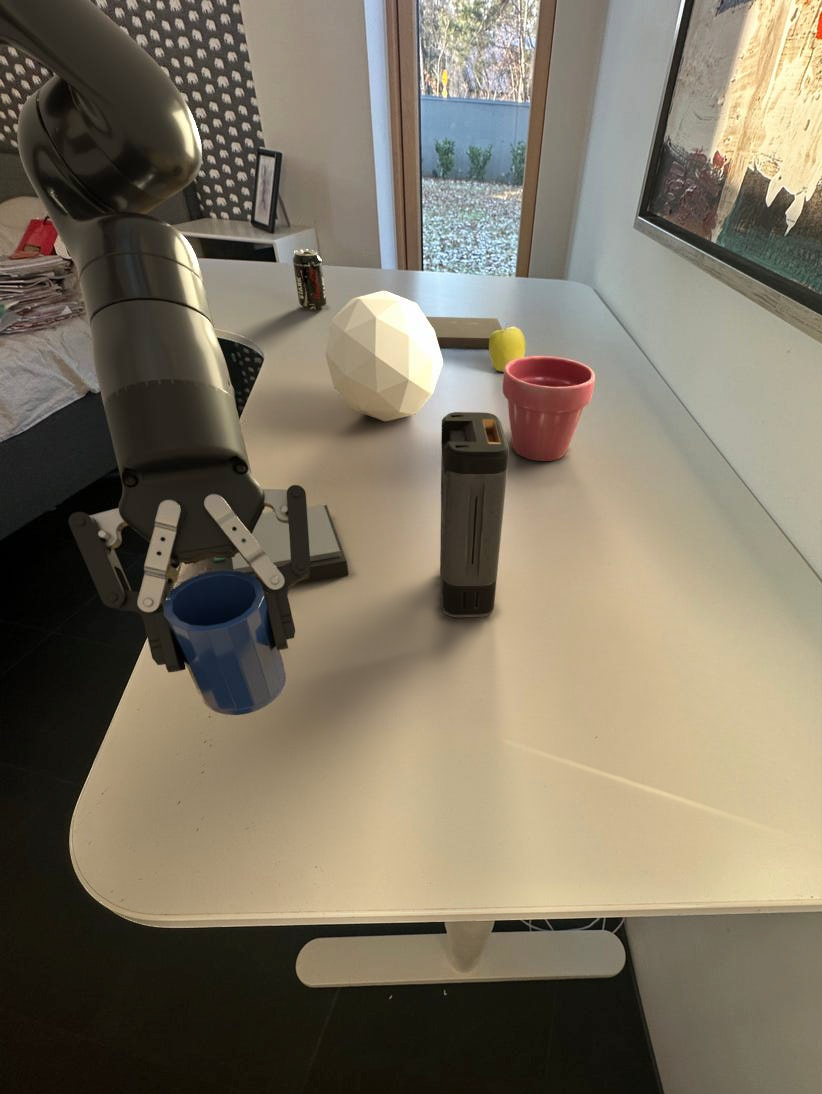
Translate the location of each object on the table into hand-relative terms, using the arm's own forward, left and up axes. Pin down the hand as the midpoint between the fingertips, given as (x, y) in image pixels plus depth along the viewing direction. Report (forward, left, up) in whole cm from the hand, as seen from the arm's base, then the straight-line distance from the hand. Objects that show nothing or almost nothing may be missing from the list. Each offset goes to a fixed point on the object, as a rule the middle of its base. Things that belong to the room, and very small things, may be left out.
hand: (231, 658), depth 37 cm
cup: (0, +2, -4) cm, 5 cm away
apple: (+58, +87, -16) cm, 106 cm away
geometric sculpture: (+28, +71, -16) cm, 78 cm away
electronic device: (+24, +19, -16) cm, 35 cm away
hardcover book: (+54, +109, -16) cm, 123 cm away
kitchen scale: (+4, +33, -16) cm, 37 cm away
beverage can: (+26, +139, -16) cm, 143 cm away
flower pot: (+49, +51, -16) cm, 73 cm away
